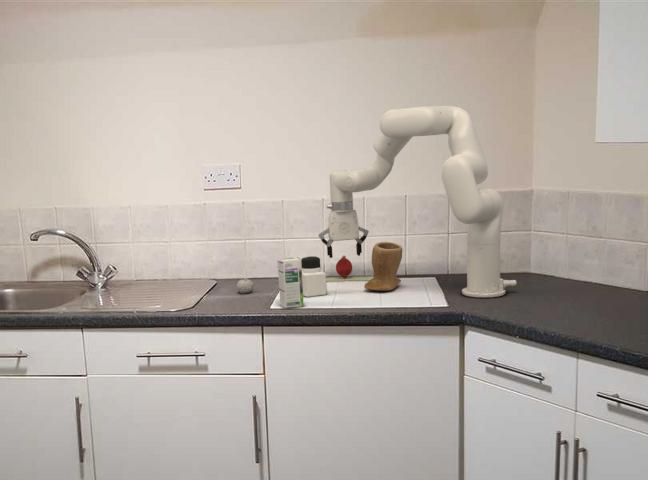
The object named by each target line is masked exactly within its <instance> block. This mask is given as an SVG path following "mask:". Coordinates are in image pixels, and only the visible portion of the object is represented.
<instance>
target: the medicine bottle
mask: <svg viewBox="0 0 648 480" xmlns="http://www.w3.org/2000/svg"><path fill="white" fill-rule="evenodd" d="M300 259H301V264H302V284H303V297H306V298H311V297H317V296H324V295H325V296H326V295H327V292H328V291H327V289H328V288H327V281H326V277H327V273H326V272H325V271H322V270H321V269H322V268H321V258H320V257H319V256H313V255H312V256H311V255H310V256H303V257H302V258H300Z"/></svg>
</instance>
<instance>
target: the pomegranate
mask: <svg viewBox="0 0 648 480" xmlns="http://www.w3.org/2000/svg"><path fill="white" fill-rule="evenodd" d="M335 272H336V273H337V275H338V276H339V277H342V278H346V277H349V276H350V275H351V273H352V272H353V263H352V262H351V260H349V258H347V257H346V255H342V256H341V258H340V259H339V260H338V261H337V263H336V265H335Z"/></svg>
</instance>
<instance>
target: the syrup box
mask: <svg viewBox="0 0 648 480" xmlns="http://www.w3.org/2000/svg"><path fill="white" fill-rule="evenodd" d="M301 259H302V258H301V257H298V256H291V257H281V258H277V273H278V274H277V276H278V287H279V288H278V291H279V304H280V306H281V307H283V308H284V309H292V308H298V307H299V308H300V307H304V304H305V303H304V296H303V284H302V264H301Z"/></svg>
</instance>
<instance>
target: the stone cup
mask: <svg viewBox="0 0 648 480" xmlns="http://www.w3.org/2000/svg"><path fill="white" fill-rule="evenodd" d="M402 258H403V247H402V246H401V244H398V243H395V242H390V241H380V242H377V243H375V244H374V245H373V247H372V250H371V266H372V270H373V271H372V272H373V276H374V278H373V279H371V280H368V281H367V282H366V283H365V284H364V288H365V289H366V290H369V291H377V292H378V291H379V292H380V291H381V292H387V291H392V290H393V289H395V288H397V286H398V285H399V284H400V283H401V282H402V279H400V278H399V277H397V274H398V271H399V268H400V265H401V261H402V260H403V259H402Z"/></svg>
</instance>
